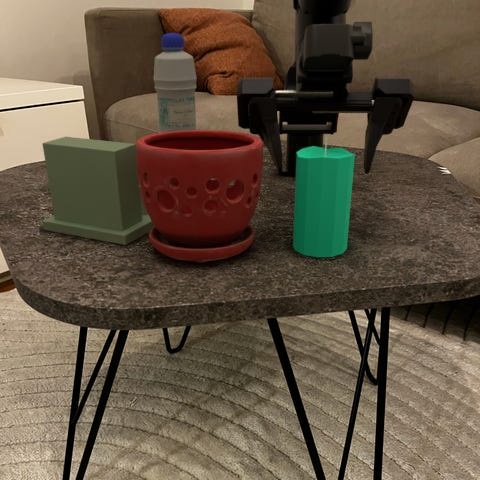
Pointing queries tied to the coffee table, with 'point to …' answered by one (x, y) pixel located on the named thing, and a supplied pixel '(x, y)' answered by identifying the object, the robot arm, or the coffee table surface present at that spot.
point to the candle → (322, 200)
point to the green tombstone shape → (95, 190)
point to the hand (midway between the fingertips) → (323, 171)
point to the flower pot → (200, 191)
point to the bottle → (175, 85)
